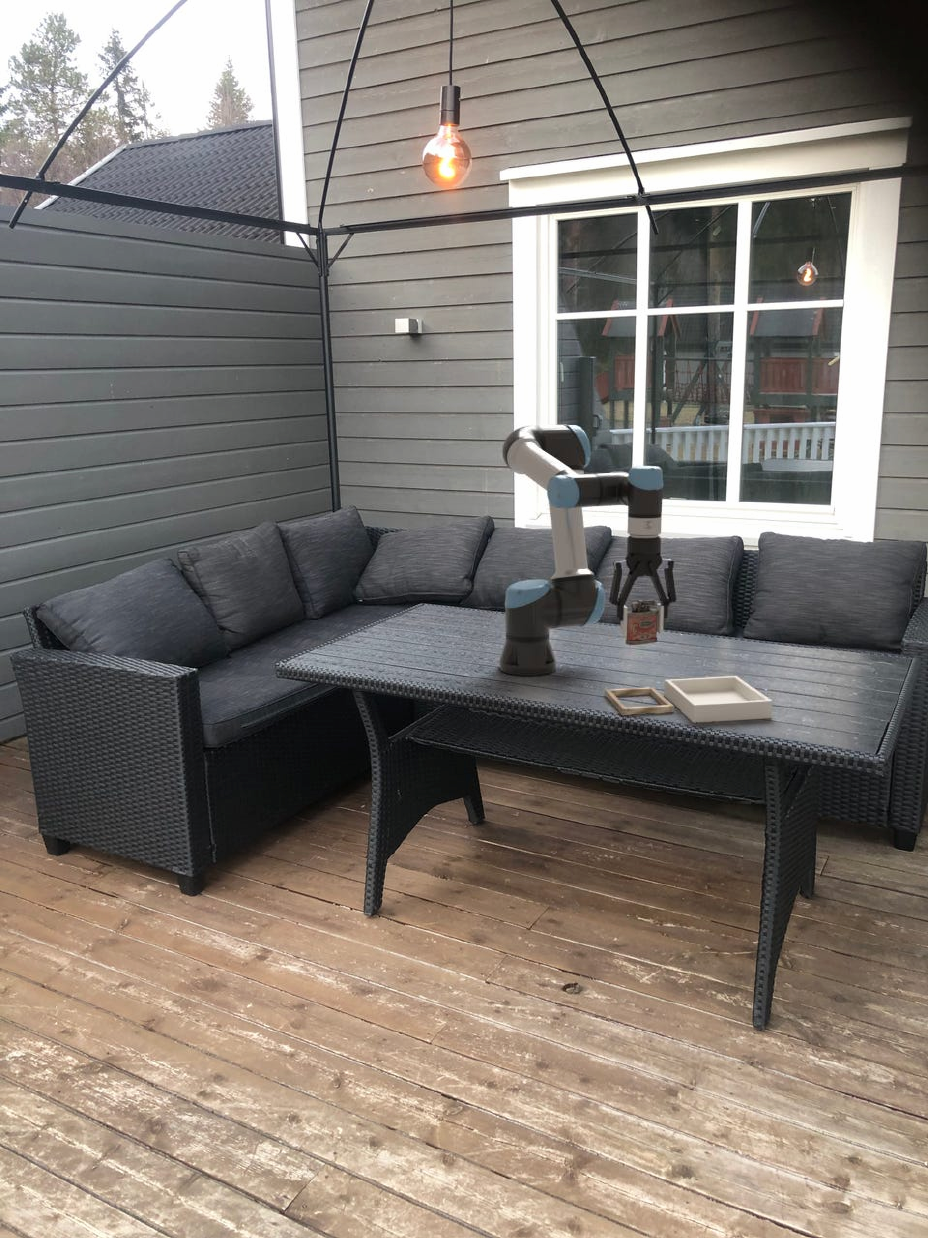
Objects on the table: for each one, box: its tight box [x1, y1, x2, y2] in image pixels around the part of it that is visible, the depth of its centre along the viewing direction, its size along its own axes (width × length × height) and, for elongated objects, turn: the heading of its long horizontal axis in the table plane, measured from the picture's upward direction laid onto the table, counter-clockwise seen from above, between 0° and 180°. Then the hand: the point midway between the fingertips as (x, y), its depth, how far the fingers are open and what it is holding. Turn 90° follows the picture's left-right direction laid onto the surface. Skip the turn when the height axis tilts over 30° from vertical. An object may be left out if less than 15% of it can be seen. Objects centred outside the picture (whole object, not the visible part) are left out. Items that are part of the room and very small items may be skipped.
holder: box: [604, 686, 675, 716], centre depth 227 cm, size 12×15×2 cm
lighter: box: [625, 599, 658, 646], centre depth 223 cm, size 8×3×10 cm, turn 113°
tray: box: [663, 675, 773, 724], centre depth 224 cm, size 18×20×4 cm
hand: (641, 632), depth 223 cm, fingers closed on lighter, 8 cm apart
